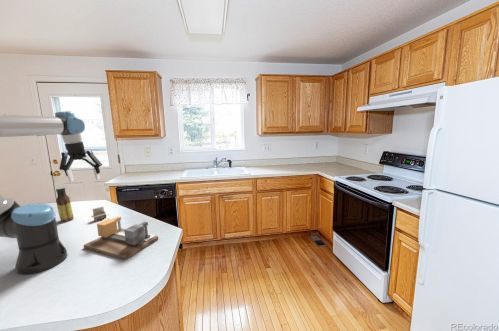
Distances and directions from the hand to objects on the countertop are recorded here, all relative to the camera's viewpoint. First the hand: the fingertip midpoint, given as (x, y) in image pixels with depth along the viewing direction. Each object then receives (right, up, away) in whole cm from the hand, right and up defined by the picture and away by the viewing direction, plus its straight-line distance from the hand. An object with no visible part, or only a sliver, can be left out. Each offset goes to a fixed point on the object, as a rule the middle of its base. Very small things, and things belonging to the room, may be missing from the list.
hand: (85, 180), depth 121 cm
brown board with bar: (+31, -28, -18) cm, 45 cm away
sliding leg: (+23, -25, -13) cm, 36 cm away
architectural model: (0, -25, +12) cm, 27 cm away
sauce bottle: (-19, -25, +11) cm, 33 cm away
